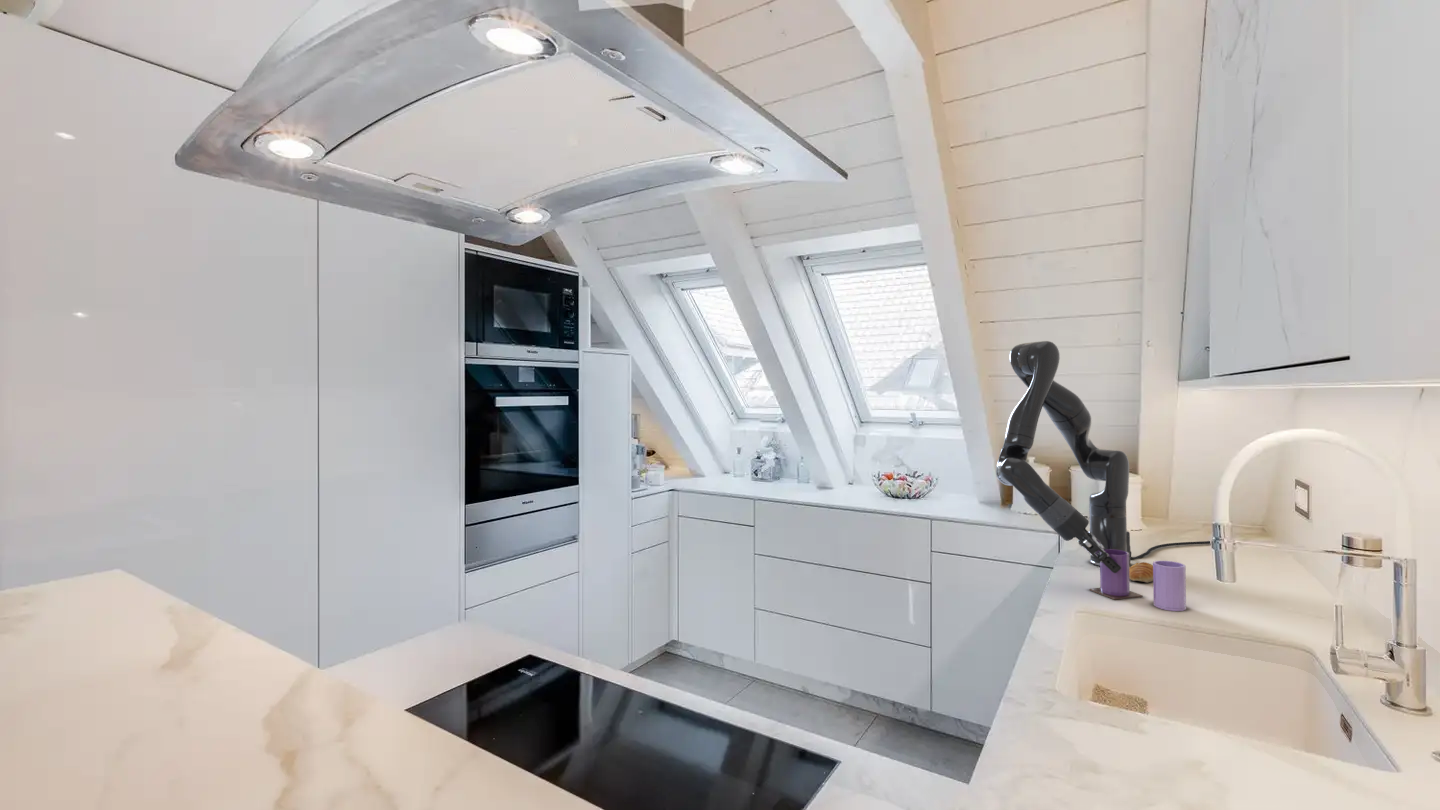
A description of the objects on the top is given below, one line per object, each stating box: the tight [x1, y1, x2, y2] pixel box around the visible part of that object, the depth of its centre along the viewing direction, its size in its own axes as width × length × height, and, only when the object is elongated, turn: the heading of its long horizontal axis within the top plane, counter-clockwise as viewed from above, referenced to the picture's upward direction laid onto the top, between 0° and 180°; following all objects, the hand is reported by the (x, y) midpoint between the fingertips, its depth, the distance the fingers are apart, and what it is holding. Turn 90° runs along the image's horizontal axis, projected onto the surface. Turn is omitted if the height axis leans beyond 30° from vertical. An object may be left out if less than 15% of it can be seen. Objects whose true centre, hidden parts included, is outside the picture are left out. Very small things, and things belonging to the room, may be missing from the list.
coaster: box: [1089, 587, 1143, 601], centre depth 162 cm, size 8×8×1 cm
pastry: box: [1129, 561, 1153, 584], centre depth 173 cm, size 9×7×4 cm
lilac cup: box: [1152, 560, 1187, 612], centre depth 151 cm, size 6×6×10 cm
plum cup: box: [1099, 549, 1131, 596], centre depth 161 cm, size 6×6×10 cm
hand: (1115, 566), depth 161 cm, fingers open, 8 cm apart
